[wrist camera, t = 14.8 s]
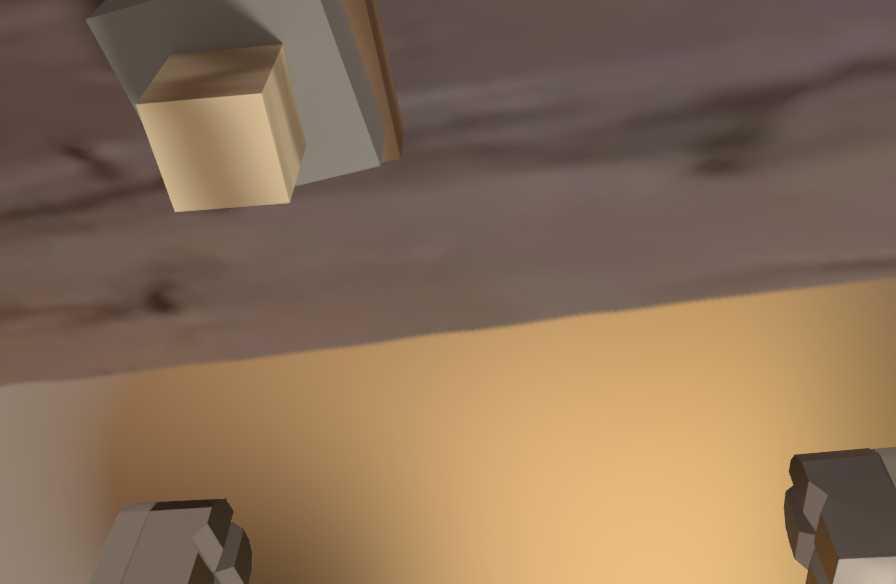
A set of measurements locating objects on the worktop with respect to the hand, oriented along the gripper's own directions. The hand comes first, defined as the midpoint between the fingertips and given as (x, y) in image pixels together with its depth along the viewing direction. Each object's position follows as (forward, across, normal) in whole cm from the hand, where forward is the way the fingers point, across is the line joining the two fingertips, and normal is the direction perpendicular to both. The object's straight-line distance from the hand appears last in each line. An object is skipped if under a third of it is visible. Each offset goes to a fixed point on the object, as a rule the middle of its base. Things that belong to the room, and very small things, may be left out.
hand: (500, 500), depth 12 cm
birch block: (+26, +12, +5) cm, 29 cm away
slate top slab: (+30, +12, +5) cm, 33 cm away
